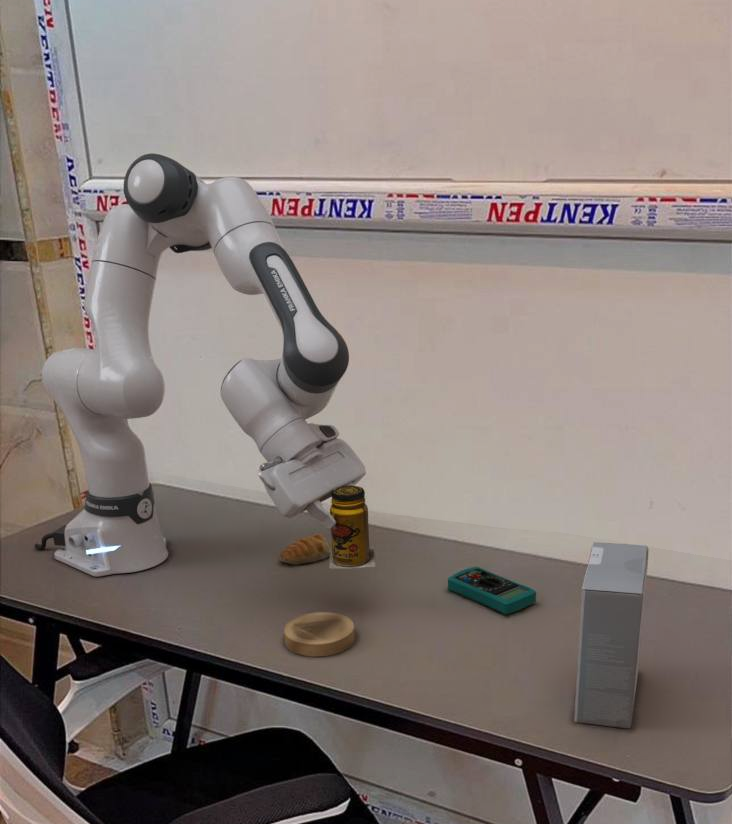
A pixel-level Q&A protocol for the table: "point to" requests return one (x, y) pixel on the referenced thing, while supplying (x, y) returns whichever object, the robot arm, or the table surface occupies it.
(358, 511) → the condiment
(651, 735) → the table surface
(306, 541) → the pastry
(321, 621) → the coaster
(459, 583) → the digital multimeter
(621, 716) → the hard drive box
